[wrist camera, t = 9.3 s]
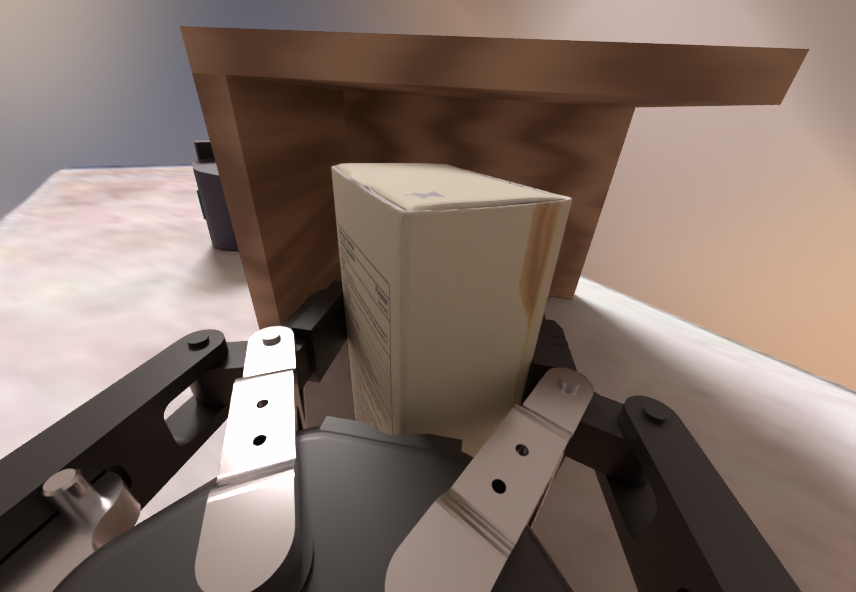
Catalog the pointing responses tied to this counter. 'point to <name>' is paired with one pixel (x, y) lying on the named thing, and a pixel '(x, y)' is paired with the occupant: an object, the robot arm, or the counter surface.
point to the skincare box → (442, 293)
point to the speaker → (213, 198)
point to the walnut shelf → (433, 126)
